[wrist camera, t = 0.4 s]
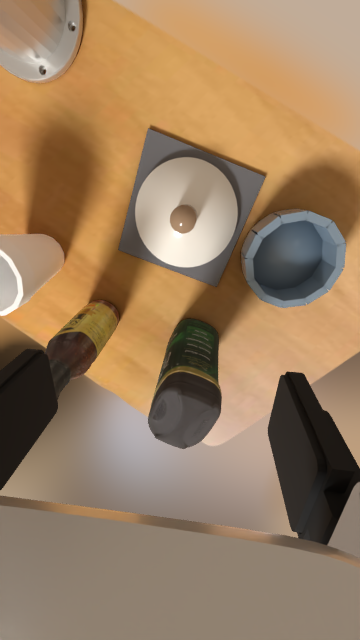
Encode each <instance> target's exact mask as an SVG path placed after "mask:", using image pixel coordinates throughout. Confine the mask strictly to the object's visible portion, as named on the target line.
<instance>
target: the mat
mask: <svg viewBox="0 0 360 640" xmlns="http://www.w3.org/2000/svg"><path fill="white" fill-rule="evenodd" d="M182 157H192V158H198V159H201V160H204V161H206V162H208V163H210V164H212V165H214V166H215V167H216V168H218V169H219V170H220V171H221V172H222V173H223V174H224V175H225V177H226V178H227V179H228V181H229V182H230V184H231V186H232V188H233V191H234V193H235V197H236V200H237V207H238V216H237V224H236V228H235V231H234V234H233V236H232V238H231V240H230V242H229V244H228V245H227V246H226V248H225V249H224V250H223V251H222V252H221V253H220V254H219V255H218V256H217V257H216V258H214V259H213V260H211V261H209V262H207V263H205V264H203V265H200V266H195V267H177V266H173V265H170V264H167V263H165V262H163V261H161V260H160V259H158V258H157V257H156V256H154V255H153V254H152V253H151V252H150V251H149V250H148V248H147V247H146V246H145V244H144V243H143V241H142V239H141V237H140V235H139V232H138V229H137V225H136V219H135V206H136V200H137V196H138V193H139V190H140V188H141V186H142V184H143V182H144V181H145V179H146V178H147V177H148V175H149V174H150V173H151V172H152V171H153V170H154V169H155V168H157V167H158V166H160V165H161V164H163V163H165V162H167V161H169V160H172V159H175V158H182ZM264 179H265V176H263V175H260V174H258V173H255V172H253V171H250V170H248V169H246V168H243V167H241V166H238V165H236V164H233V163H231V162H229V161H226V160H224V159H221V158H219V157H217V156H214V155H212V154H209V153H207V152H204V151H202V150H200V149H197V148H195V147H192V146H190V145H187V144H185V143H183V142H180V141H178V140H175V139H173V138H171V137H168V136H166V135H163V134H161V133H158V132H156V131H154V130H151V129H149V128H148V131H147V135H146V139H145V143H144V147H143V151H142V156H141V160H140V164H139V168H138V172H137V176H136V180H135V184H134V188H133V192H132V196H131V200H130V204H129V208H128V212H127V216H126V220H125V224H124V228H123V233H122V237H121V241H120V245H119V249H118V250H119V251H122V252H125V253H127V254H130V255H133V256H135V257H138V258H141V259H143V260H146V261H149V262H151V263H154V264H157V265H159V266H162V267H165V268H167V269H170V270H172V271H175V272H178V273H180V274H183V275H186V276H188V277H191V278H194V279H196V280H199V281H202V282H204V283H207V284H210V285H212V286H215V287H217V285H218V283H219V280H220V278H221V276H222V274H223V271H224V269H225V267H226V265H227V262H228V260H229V258H230V256H231V253H232V251H233V249H234V247H235V244H236V242H237V240H238V238H239V235H240V233H241V231H242V229H243V226H244V224H245V222H246V220H247V217H248V215H249V213H250V211H251V208H252V206H253V204H254V202H255V200H256V197H257V195H258V193H259V191H260V188H261V186H262V184H263V182H264Z"/></svg>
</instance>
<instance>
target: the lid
mask: <svg viewBox="0 0 360 640" xmlns="http://www.w3.org/2000/svg"><path fill="white" fill-rule="evenodd" d="M237 216H238V207H237V200H236V197H235V193H234V191H233V188H232V186H231V184H230V182H229V181H228V179H227V178H226V177H225V175H224V174H223V173H222V172H221V171H220V170H219V169H218V168H216V167H215V166H214V165H212V164H210V163H208V162H206V161H204V160H201V159H198V158H192V157H182V158H175V159H172V160H169V161H167V162H165V163H163V164H161V165H160V166H158V167H157V168H155V169H154V170H153V171H152V172H151V173H150V174H149V175H148V177H147V178H146V179H145V181H144V182H143V184H142V186H141V188H140V190H139V193H138V196H137V200H136V206H135V219H136V225H137V229H138V232H139V235H140V237H141V239H142V241H143V243H144V244H145V246H146V247H147V248H148V250H149V251H150V252H151V253H152V254H153V255H154V256H156V257H157V258H158V259H160V260H161V261H163V262H165V263H167V264H170V265H173V266H177V267H195V266H200V265H203V264H205V263H207V262H209V261H211V260H213V259H214V258H216V257H217V256H218V255H219V254H220V253H221V252H222V251H223V250H224V249H225V248H226V246H227V245H228V244H229V242H230V240H231V238H232V236H233V234H234V231H235V228H236V224H237Z"/></svg>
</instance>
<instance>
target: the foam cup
mask: <svg viewBox="0 0 360 640" xmlns="http://www.w3.org/2000/svg"><path fill="white" fill-rule="evenodd" d="M63 264H64V252H63V250H62V248H61V246H60V244H59V243H58V242H57V241H56V240H55V239H54V238H52V237H50V236H48V235H45V234H11V235H0V316H3V315H7V314H8V313H10V312H12V311H14V310H15V309H17V308H18V307H20V306H22V305H23V304H25V303H27V302H28V301H29V300H30V298H31V297H32V296H33V295H34V294H35V293H36V292H37V291H38V290H39V289H40V288H41V287H43V286H44V285H45V284H46V283H47V282H48V281H49V280H50V279H51V278H52V277H53V276H55V275H56V274H57V273H58V272H59V271H60V270H61V268H62V266H63Z"/></svg>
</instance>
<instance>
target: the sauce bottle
mask: <svg viewBox="0 0 360 640" xmlns="http://www.w3.org/2000/svg"><path fill="white" fill-rule="evenodd" d="M118 322H119V314H118V311H117V310H116V308H115V307H114V306H113V305H112V304H111V303H109V302H107V301H104V300H95V301H93V302H91V303H89V304H87V305H86V306H85V307H84V308H83V309H82V310H81V311H80V312H78V313H77V314H76V315H75V316H74V317H73V318H72V319H71V320H70V321H69V322H68V323H67V324H66V325H65V326H64V327H63V328H62V329H61V330H60V331H59V332H58V333H57V334H56V335H55V336H54V337H53V338H52V339H51V340H50V341H49V343H48V345H47V349H46V352H45V354H47V355H48V358H49V363H50V368H51V373H52V378H53V383H54V387H55V392H56V397H57V399H58V397H59V394H60V392H61V391H62V389H63V388H64V387H65V386H66V385H67V384H68V382H69V381H70V380H72V379H76V378H78V377H80V376H82V375H83V374H84V373H86V371H87V370H88V369H89V368H90V366H91V364H92V363H93V362H94V361H95V360H96V358H97V357H98V355H99V354H100V352H101V351H102V349H103V347H104V346H105V344H106V343H107V341H108V340H109V339H110V337H111V335H112V334H113V332H114V331H115V329H116V327H117V325H118Z"/></svg>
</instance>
